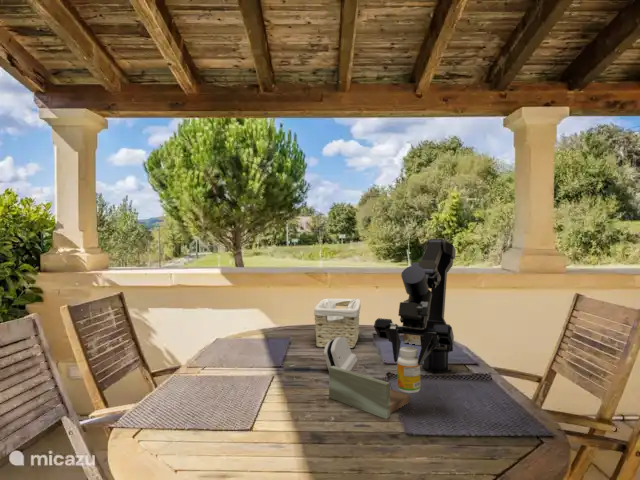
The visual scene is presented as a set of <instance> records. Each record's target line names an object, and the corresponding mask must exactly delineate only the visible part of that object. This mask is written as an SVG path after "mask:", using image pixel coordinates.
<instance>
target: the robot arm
mask: <svg viewBox="0 0 640 480" xmlns="http://www.w3.org/2000/svg"><path fill="white" fill-rule="evenodd" d="M455 259H456V248H455V246H454V244H452V243H450V242H447V241H446V240H445V239H443V238H430V239H427V242H426V244H425V251H424V253H423V255H422V258H421V260H420V261H418V262H411V265H410V266H407V267H405V268H404V269H403V271H402V272H401V275H400V276H401V280H402V282H403V285H404V289H405V293H406V294H407V295H408V298H407V300H408V302H407V303H406V302H404V301H403V302H402V301H401V302H399V308H398V317H400V319H399V321H400V323H402V325H398V324H397V323H393V320H392V319H391V318H381V317H378V318H376V320H375V321H374V325H373V328H374V330H375V333H376V334H377V338H380V339H383V340H387V341H389V343H391V348H392V354H393V361H394V362H395V363H397V359H398V358H399V355H400V348H401V344H402V342H401V338H400V335H401V334H402V335H404V334H407V335H417V336H420V341H421V346H420V352H419V355H418V358H419V360H418V365H420V366H421V367H422V368H423V369H425V370H426V371H429V372H430V373H432V374H438V373H444V372H451V371H452V368H450V367H449V353H450V352H454V351H453V350H454V341H455V340H454V339H455V338H454V337H455V335H454V331H453V327H452V326H451V325H450V324H448V323H447V321H446V319H445V309H446V295H447V293H446V292H447V277H448V272H450V269H452V267H453V265H454V260H455ZM428 316H429V317H428ZM422 364H423V365H422Z"/></svg>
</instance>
